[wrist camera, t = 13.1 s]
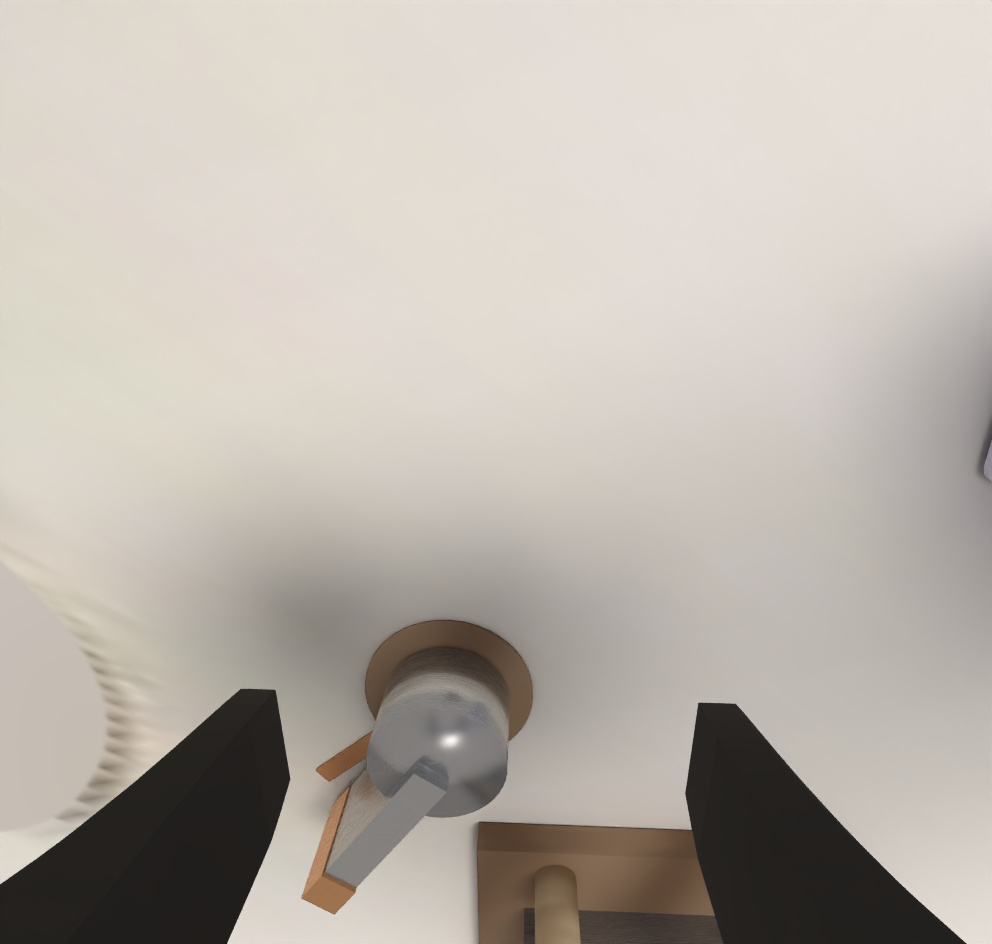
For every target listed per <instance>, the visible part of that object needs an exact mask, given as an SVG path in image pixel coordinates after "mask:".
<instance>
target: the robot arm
mask: <svg viewBox="0 0 992 944" xmlns="http://www.w3.org/2000/svg"><path fill="white" fill-rule="evenodd" d="M984 474H985V476H986V478H988V479H989V480H990V481H992V441H991V445H990V448H989V451H988V455H987V458H986V461H985V465H984ZM289 782H290V774H289V768H288V762H287V756H286V750H285V744H284V738H283V732H282V726H281V720H280V714H279V708H278V702H277V696H276V690H264V689H240V690H239V691H238V692H237V693H236V694H234V695H233V696H232V697H231V698H230V699H229V700H227V701H226V702H225V703H224V704H223V705H222V706H221V707H220V708H218V709H217V710H216V711H215V712H214V713H213V714H212V715H211V716H209V717H208V718H207V719H206V720H205V721H204V722H203V723H202V724H201V725H199V726H198V727H197V728H196V729H195V730H194V731H193V732H192V733H190V734H189V735H188V736H187V737H186V738H185V739H184V740H183V741H181V742H180V743H179V744H178V745H177V746H176V747H175V748H174V749H172V750H171V751H170V752H169V753H168V754H167V755H165V756H164V757H163V758H162V759H161V760H160V761H159V762H157V763H156V764H155V765H154V766H153V767H152V768H150V769H149V770H148V771H147V772H146V773H145V774H143V775H142V776H141V777H140V778H139V779H138V780H136V781H135V782H134V783H133V784H132V785H130V786H129V787H128V788H127V789H125V790H124V791H123V792H122V793H121V794H119V795H118V796H117V797H116V798H114V799H113V800H112V801H111V802H109V803H108V804H107V805H106V806H104V807H103V808H102V809H101V810H99V811H98V812H97V813H96V814H94V815H93V816H92V817H91V818H89V819H88V820H87V821H86V822H84V823H83V824H82V825H81V826H79V827H78V828H77V829H76V830H74V831H73V832H72V833H71V834H69V835H68V836H67V837H65V838H64V839H63V840H61V841H60V842H59V843H57V844H56V845H55V846H53V847H52V848H51V849H49V850H48V851H47V852H45V853H44V854H42V855H41V856H40V857H38V858H37V859H36V860H34V861H33V862H31V863H30V864H29V865H27V866H26V867H24V868H23V869H21V870H20V871H19V872H17V873H16V874H14V875H13V876H12V877H10V878H9V879H7V880H6V881H4V882H3V883H2V884H0V944H227V942H228V940H229V938H230V935H231V933H232V931H233V929H234V926H235V924H236V922H237V919H238V917H239V915H240V913H241V910H242V908H243V906H244V904H245V901H246V899H247V897H248V894H249V892H250V890H251V887H252V885H253V883H254V881H255V878H256V876H257V874H258V871H259V869H260V867H261V864H262V862H263V860H264V857H265V855H266V853H267V850H268V848H269V845H270V843H271V841H272V837H273V834H274V831H275V828H276V825H277V822H278V819H279V816H280V812H281V809H282V806H283V802H284V799H285V795H286V792H287V789H288V785H289ZM685 794H686V800H687V805H688V811H689V816H690V822H691V827H692V832H693V837H694V842H695V847H696V852H697V857H698V861H699V864H700V868H701V871H702V875H703V878H704V881H705V885H706V888H707V891H708V895H709V898H710V901H711V905H712V908H713V911H714V915H715V918H716V921H717V925H718V928H719V931H720V934H721V938H722V941H723V944H966V943H965V942H964V941H963V940H962V939H961V938H960V937H958V936H957V935H956V934H955V933H954V932H953V931H952V930H951V929H949V928H948V927H947V926H946V925H945V924H944V923H943V922H942V921H940V920H939V919H938V918H937V917H936V916H935V915H934V914H933V913H932V912H930V911H929V910H928V909H927V908H926V907H925V906H924V905H923V904H921V903H920V902H919V901H918V900H917V899H916V898H915V897H914V896H913V895H912V894H911V893H909V892H908V891H907V890H906V889H905V888H904V887H903V886H902V885H901V884H900V883H899V882H898V881H897V880H896V879H895V878H894V877H893V876H892V875H891V874H890V873H889V872H888V871H887V870H886V869H885V868H884V867H883V866H882V865H881V864H880V863H879V862H878V861H877V860H876V859H875V858H874V857H873V856H872V855H871V854H870V853H869V852H868V851H867V850H866V849H865V848H864V847H863V846H862V845H861V844H860V843H859V842H858V841H857V840H856V839H855V838H854V837H853V836H852V835H851V834H850V833H849V832H848V831H847V830H846V829H845V828H844V827H843V825H842V824H841V823H840V822H839V821H838V820H837V819H836V818H835V817H834V816H833V815H832V814H831V813H830V811H829V810H828V809H827V808H826V807H825V806H824V805H823V804H822V803H821V802H820V800H819V799H818V798H817V797H816V796H815V795H814V794H813V793H812V792H811V791H810V790H809V788H808V787H807V786H806V785H805V784H804V783H803V782H802V781H801V779H800V778H799V777H798V776H797V775H796V774H795V773H794V771H793V770H792V769H791V768H790V767H789V766H788V765H787V763H786V762H785V761H784V760H783V759H782V758H781V756H780V755H779V754H778V753H777V752H776V751H775V749H774V748H773V747H772V746H771V745H770V743H769V742H768V741H767V740H766V739H765V737H764V736H763V735H762V734H761V733H760V732H759V730H758V729H757V728H756V727H755V726H754V724H753V723H752V722H751V721H750V720H749V718H748V717H747V716H746V715H745V714H744V712H743V711H742V710H741V709H740V708H739V707H738V706H737V705H736V704H725V703H698V710H697V717H696V724H695V731H694V738H693V745H692V752H691V759H690V765H689V772H688V779H687V786H686V793H685Z"/></svg>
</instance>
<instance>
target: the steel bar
mask: <svg viewBox="0 0 992 944" xmlns="http://www.w3.org/2000/svg"><path fill="white" fill-rule="evenodd" d="M578 912H579V926H580V941H581V944H723V941H722V938H721V934H720V931H719V928H718V925H717V921H716V918H715V916H710V915H686V914H662V913H639V912H615V911H591V910H578ZM524 944H535V908H524Z"/></svg>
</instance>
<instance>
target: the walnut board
mask: <svg viewBox="0 0 992 944" xmlns="http://www.w3.org/2000/svg"><path fill="white" fill-rule="evenodd" d="M477 870H478V916H479V944H524V908H535V944H581V941H580V926H579V912H578V910H591V911H615V912H639V913H662V914H686V915H710V916H715V915H714V911H713V908H712V905H711V901H710V898H709V895H708V891H707V888H706V885H705V881H704V878H703V875H702V871H701V868H700V864H699V861H698V857H697V852H696V847H695V842H694V837H693V832H692V831H685V830H660V829H634V828H609V827H584V826H558V825H533V824H508V823H482V822H479V833H478V845H477Z"/></svg>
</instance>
